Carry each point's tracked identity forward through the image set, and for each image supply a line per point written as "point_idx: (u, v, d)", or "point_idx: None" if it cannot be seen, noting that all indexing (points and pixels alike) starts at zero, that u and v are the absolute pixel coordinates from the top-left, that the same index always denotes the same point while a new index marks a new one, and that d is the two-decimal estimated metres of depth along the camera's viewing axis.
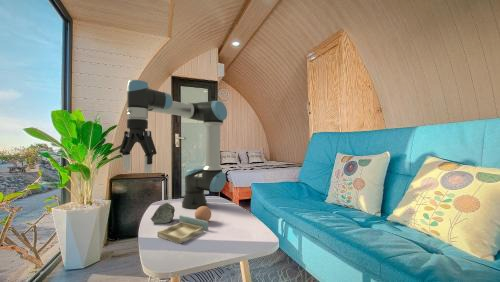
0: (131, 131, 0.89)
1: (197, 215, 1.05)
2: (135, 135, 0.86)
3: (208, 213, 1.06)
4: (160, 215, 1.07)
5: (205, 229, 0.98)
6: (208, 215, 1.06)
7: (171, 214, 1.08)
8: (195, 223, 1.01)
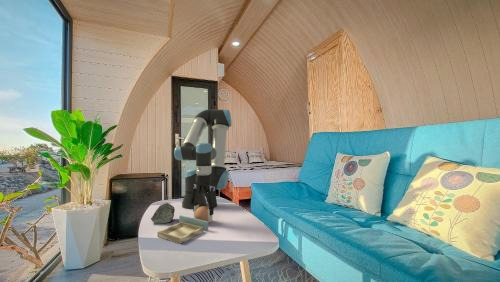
0: (198, 183, 1.09)
1: (197, 215, 1.05)
2: (203, 188, 1.06)
3: None
4: (160, 215, 1.07)
5: (205, 229, 0.98)
6: None
7: (171, 214, 1.08)
8: (195, 223, 1.01)
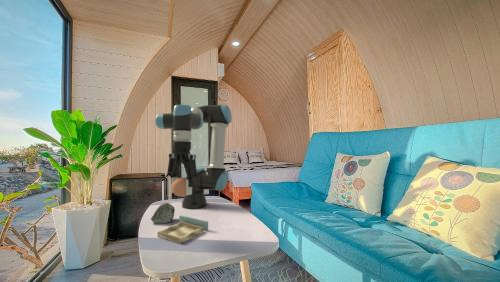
0: (176, 151, 0.95)
1: (174, 187, 0.91)
2: (181, 156, 0.92)
3: None
4: (160, 215, 1.07)
5: (205, 229, 0.98)
6: None
7: (171, 214, 1.08)
8: (195, 223, 1.01)
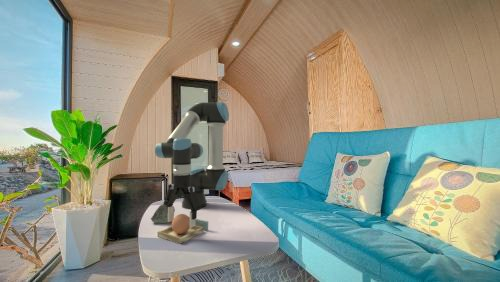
0: (175, 185, 0.95)
1: (174, 225, 0.91)
2: (181, 190, 0.92)
3: (187, 223, 0.92)
4: (160, 215, 1.07)
5: (205, 229, 0.98)
6: (186, 225, 0.92)
7: None
8: (195, 223, 1.01)
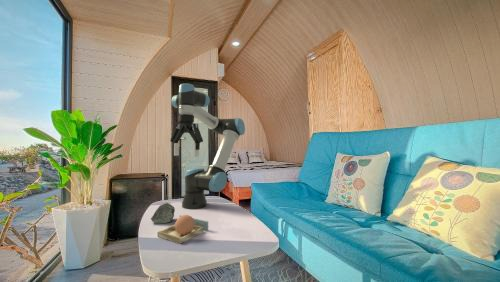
0: (181, 124, 1.12)
1: (178, 226, 0.90)
2: (185, 127, 1.09)
3: (190, 229, 0.91)
4: (160, 215, 1.07)
5: (205, 229, 0.98)
6: (189, 231, 0.91)
7: (171, 214, 1.08)
8: (195, 223, 1.01)
